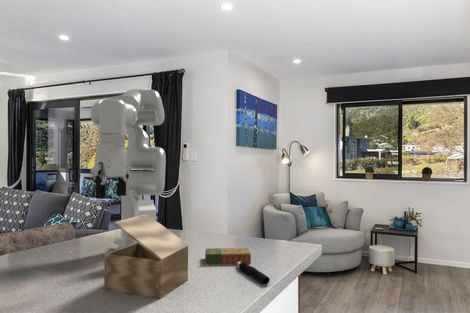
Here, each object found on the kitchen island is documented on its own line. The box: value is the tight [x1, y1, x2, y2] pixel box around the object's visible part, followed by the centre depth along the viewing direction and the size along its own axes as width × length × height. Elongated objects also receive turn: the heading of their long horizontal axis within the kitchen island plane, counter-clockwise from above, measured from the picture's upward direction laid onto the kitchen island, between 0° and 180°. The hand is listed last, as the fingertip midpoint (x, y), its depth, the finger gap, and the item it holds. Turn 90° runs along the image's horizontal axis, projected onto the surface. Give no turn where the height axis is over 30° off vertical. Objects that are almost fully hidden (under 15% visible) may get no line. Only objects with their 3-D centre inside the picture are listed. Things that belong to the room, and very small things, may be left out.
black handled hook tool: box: [236, 261, 271, 285], centre depth 119 cm, size 22×4×3 cm, turn 25°
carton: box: [204, 247, 252, 265], centre depth 134 cm, size 8×16×4 cm, turn 95°
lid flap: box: [113, 214, 190, 260], centre depth 108 cm, size 17×16×1 cm
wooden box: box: [103, 242, 189, 300], centre depth 109 cm, size 18×16×10 cm
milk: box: [135, 199, 157, 243], centre depth 132 cm, size 6×6×22 cm
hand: (111, 196), depth 112 cm, fingers open, 9 cm apart
